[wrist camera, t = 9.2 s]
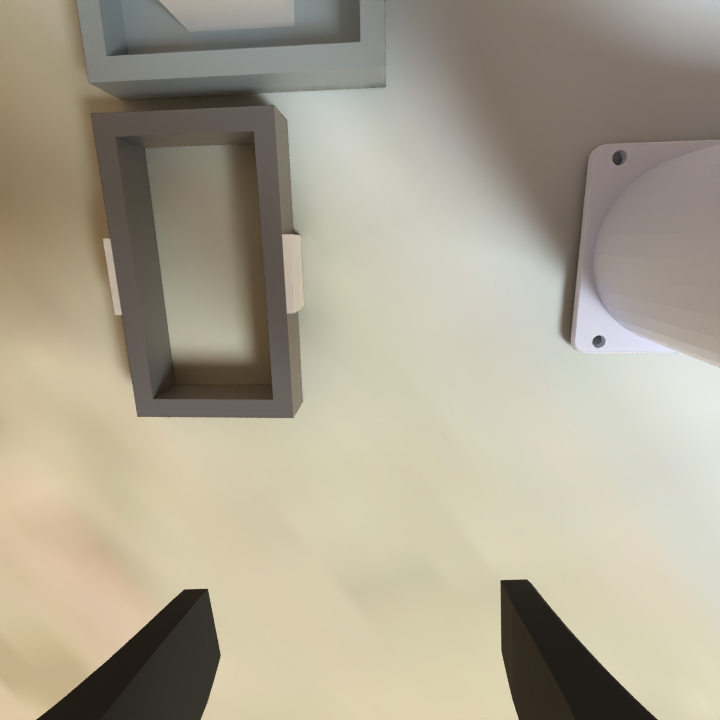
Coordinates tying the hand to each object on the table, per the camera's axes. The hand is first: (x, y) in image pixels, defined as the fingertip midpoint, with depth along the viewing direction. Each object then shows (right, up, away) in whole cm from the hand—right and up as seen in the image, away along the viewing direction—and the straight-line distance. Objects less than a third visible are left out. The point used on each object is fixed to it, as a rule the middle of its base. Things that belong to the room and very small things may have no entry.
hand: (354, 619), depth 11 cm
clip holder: (-6, +10, +9) cm, 15 cm away
